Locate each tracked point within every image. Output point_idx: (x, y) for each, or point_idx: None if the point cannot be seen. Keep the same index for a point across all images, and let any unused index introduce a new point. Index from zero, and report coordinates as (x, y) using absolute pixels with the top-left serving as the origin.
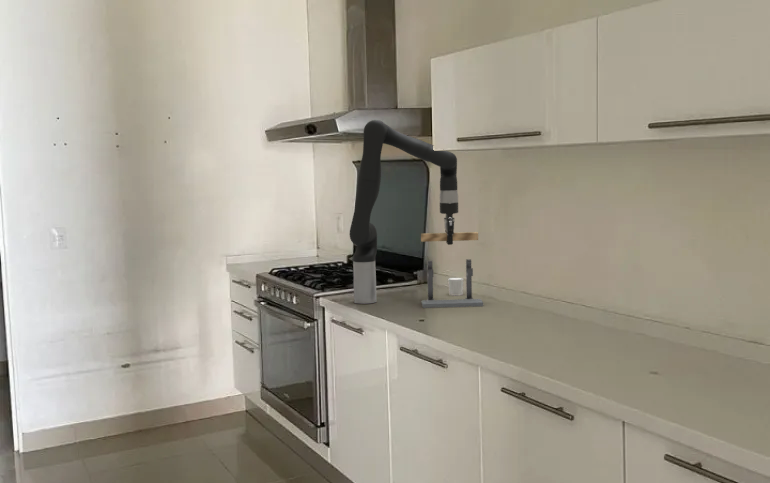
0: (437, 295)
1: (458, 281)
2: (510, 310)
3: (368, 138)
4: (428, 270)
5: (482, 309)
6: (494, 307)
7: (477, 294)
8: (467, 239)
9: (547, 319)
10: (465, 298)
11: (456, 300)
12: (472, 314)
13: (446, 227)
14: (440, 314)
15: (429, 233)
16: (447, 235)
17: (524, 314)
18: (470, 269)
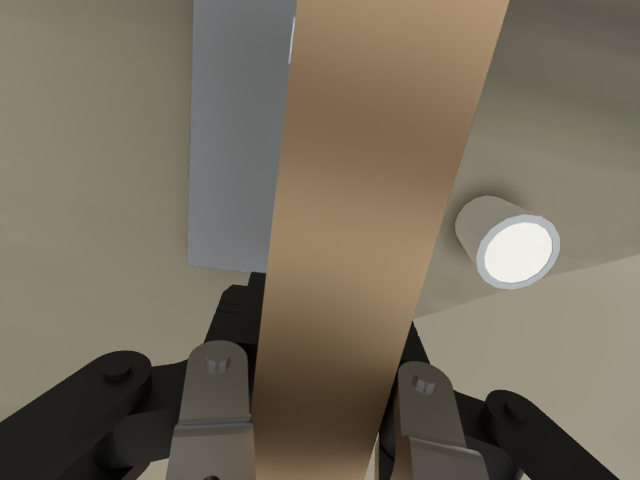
0: (503, 138)
1: (474, 253)
2: (95, 320)
3: None
4: (293, 20)
5: (124, 238)
6: (159, 287)
7: (445, 299)
8: None
9: None
10: None
11: (256, 172)
12: (18, 174)
13: (167, 471)
14: (17, 29)
15: (458, 14)
16: (249, 348)
17: (19, 340)
18: None
